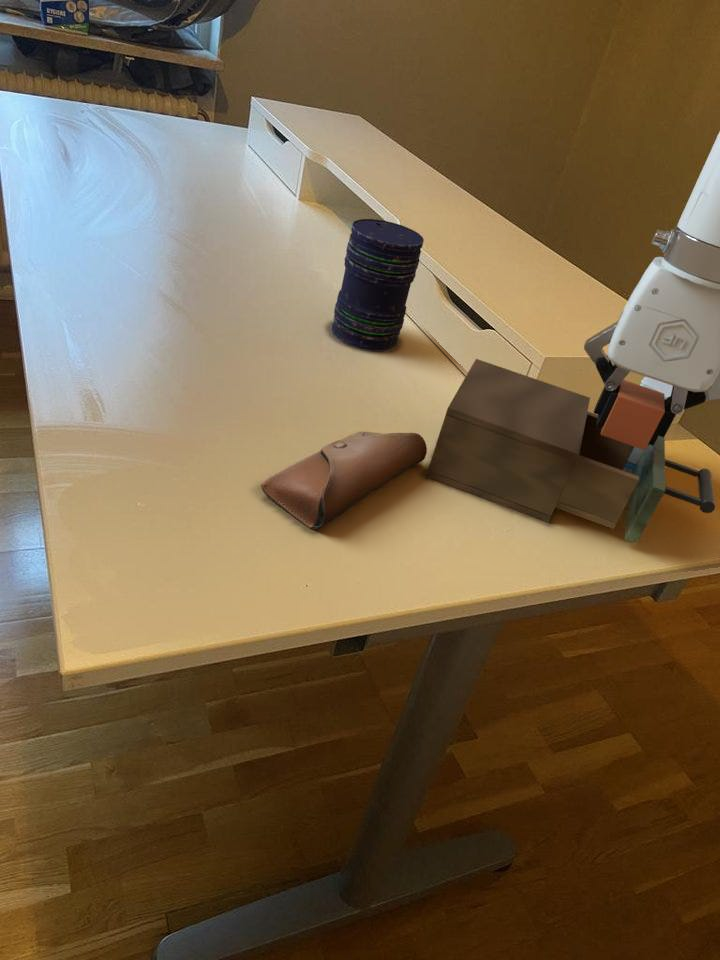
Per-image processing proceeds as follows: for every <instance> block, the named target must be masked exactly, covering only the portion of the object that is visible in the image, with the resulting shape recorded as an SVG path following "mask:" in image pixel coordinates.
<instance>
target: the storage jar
mask: <svg viewBox="0 0 720 960" xmlns="http://www.w3.org/2000/svg"><path fill="white" fill-rule="evenodd" d="M350 231H351V233H350V234H349V238H348V242H347V246H346V251H345V252H346V253H345V257H344V273H343V278H342V281H341V282H342V283H341V287H340V289H339V291H338V294H337V296H336V297H337V298H336V302H335V305H334V309H333V310H334V311H333V314H334V315H333V322H332V325H331V333H332V335H333V336H334V337H335V338H336V339H337V340H339V341H340V342H341V343H343V344H345V345H347V346H350V347H352V348H354V349H355V348H356V349H359V350H361V351H368V352H369V351H370V352H387V351H391V350H393V349H395V348H396V347H397V345H398V342H399V336H400V334H401V330H402V329H403V326H404V322H405V316H406V311H407V305H406V304H407V300H408V296H409V292H410V288H411V285H412V283H413V282H414V281H415V278H416V275H417V274H416V272H417V270H418V268H419V264H420V257H421V254H422V253H421V252H422V248H423V245H424V241H425V239H424V236H422V235H421V234H420V233H419V232H418V231H416V230H413V229H411V228H409V227H408V226H405V225H402V224H399V223H395V222H392V221H388V220H382V219H376V218H375V219H374V218H360V219H355V220H354V221H353V222H352V225H351V230H350Z"/></svg>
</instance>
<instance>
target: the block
mask: <svg viewBox="0 0 720 960" xmlns="http://www.w3.org/2000/svg"><path fill="white" fill-rule="evenodd" d="M664 413H665V395H664V393H661V392H658V391H655V390H652V389H649V388H646V387H644V386H641V385H640V384H637V383H635V382H631V381H629V380H626V379H624V380H623V381H622V382H621V383H620V387H619V389H618V396H617V398H616V401H615V403H614V405H613V407H612V409H611V411H610V413H609V415H608V418H607V420H606V422H605V424H604V426H603V427H602V429H601V435H603V436H605V437H608V438H611V439H614V440H617V441H619V442H622V443H625V444H628V445H631V446H634V447H636V448H639V449H642V450H645V449H646V447H647V445H648V443H649V442H650V440H651V438H652V436H653V434H654V432H655V430H656V428H657V426H658V424H659V422H660V420H661V418H662V416H663V414H664Z"/></svg>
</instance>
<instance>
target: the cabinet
mask: <svg viewBox="0 0 720 960" xmlns="http://www.w3.org/2000/svg"><path fill="white" fill-rule="evenodd" d="M590 401H591V397H589V396H586V395H584V394H580V393H577V392H574V391H572V390H569V389H566V388H563V387H561V386H557V385H554V384H552V383H548V382H545V381H543V380H540V379H537V378H533V377H531V376H528V375H526V374H522V373H519V372H516V371H513V370H511V369H507V368H504V367H502V366H498V365H497V364H493V363H490V362H486V361H485V360H481V359H478V358H475V360H474V361H473V363H472V365H471V366H470V368H469V370H468V372H467V373H466V375H465V377H464V379H463V381H462V382H461V383H460V385H459V387H458V389H457V391H456V392H455V395H454V396H453V398H452V400H451V401H450V403H449V405H448V407H447V408H446V412H445V415H444V419H443V421H442V424H441V427H440V430H439V434H438V437H437V440H436V443H435V447H434V450H433V453H432V457H431V459H430V462H429V466H428V469H427V472H426V475H425V476H426V477H427V478H429V479H431V480H435V481H437V482H440V483H443V484H445V485H448V486H451V487H453V488H456V489H458V490H461V491H464V492H467V493H470V494H472V495H475V496H477V497H480V498H482V499H485V500H487V501H490V502H493V503H496V504H498V505H502V506H503V507H506V508H509V509H512V510H514V511H518V512H520V513H522V514H525V515H528V516H531V517H532V518H536V519H538V520H541V521H544V522H546V523H549V522H550V521H551V518H552V516H553V514H554V511H555V510H556V505H557V503H558V500H559V498H560V496H561V494H562V492H563V489H564V487H565V485H566V483H567V481H568V478H569V476H570V474H571V472H572V470H573V467H574V465H575V463H576V460H577V459H578V456H579V453H580V448H581V443H582V438H583V433H584V427H585V422H586V417H587V412H589V406H590Z"/></svg>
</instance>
